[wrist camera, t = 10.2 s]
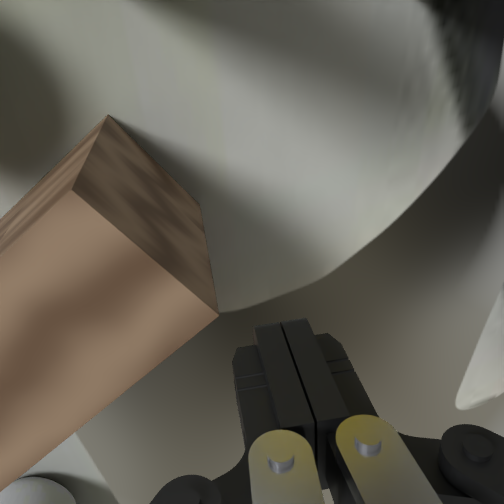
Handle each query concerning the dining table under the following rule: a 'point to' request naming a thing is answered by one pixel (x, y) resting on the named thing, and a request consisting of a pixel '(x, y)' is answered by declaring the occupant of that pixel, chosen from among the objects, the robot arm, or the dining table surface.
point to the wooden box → (93, 290)
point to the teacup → (35, 492)
